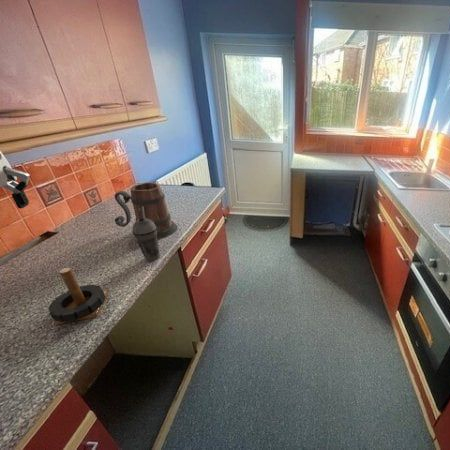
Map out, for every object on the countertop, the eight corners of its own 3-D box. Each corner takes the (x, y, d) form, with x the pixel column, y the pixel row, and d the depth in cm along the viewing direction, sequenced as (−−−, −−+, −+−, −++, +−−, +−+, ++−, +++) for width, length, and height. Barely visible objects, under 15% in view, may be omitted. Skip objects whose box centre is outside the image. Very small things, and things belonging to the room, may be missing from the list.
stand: (55, 324, 64) (32, 285, 58) (71, 300, 71) (51, 262, 65) (97, 316, 67) (79, 278, 60) (108, 293, 74) (92, 257, 68)
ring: (43, 326, 62) (39, 319, 61) (64, 295, 71) (61, 289, 70) (96, 316, 65) (93, 309, 64) (110, 288, 75) (107, 281, 73)
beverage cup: (139, 256, 91) (123, 206, 82) (160, 249, 95) (148, 201, 86) (143, 266, 86) (127, 214, 77) (166, 258, 90) (153, 208, 81)
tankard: (182, 221, 117) (174, 179, 107) (170, 239, 102) (159, 193, 93) (129, 221, 114) (116, 179, 105) (108, 241, 99) (90, 193, 90)
